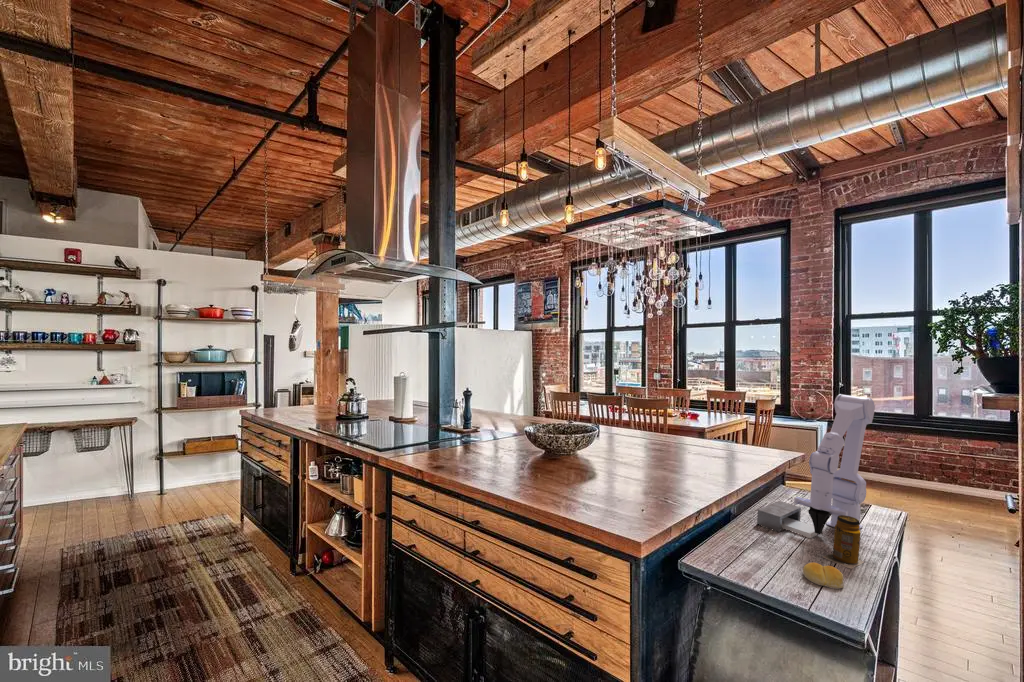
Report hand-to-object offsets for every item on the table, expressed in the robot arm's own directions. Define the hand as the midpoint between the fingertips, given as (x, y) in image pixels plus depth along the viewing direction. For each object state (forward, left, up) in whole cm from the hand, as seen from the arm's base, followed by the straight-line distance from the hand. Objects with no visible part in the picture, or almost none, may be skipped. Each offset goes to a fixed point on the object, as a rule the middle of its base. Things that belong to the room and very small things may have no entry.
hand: (818, 533), depth 152 cm
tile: (0, -7, -2) cm, 7 cm away
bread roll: (+30, +12, -2) cm, 32 cm away
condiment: (+12, +11, -1) cm, 16 cm away
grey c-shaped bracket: (0, -12, -1) cm, 12 cm away
